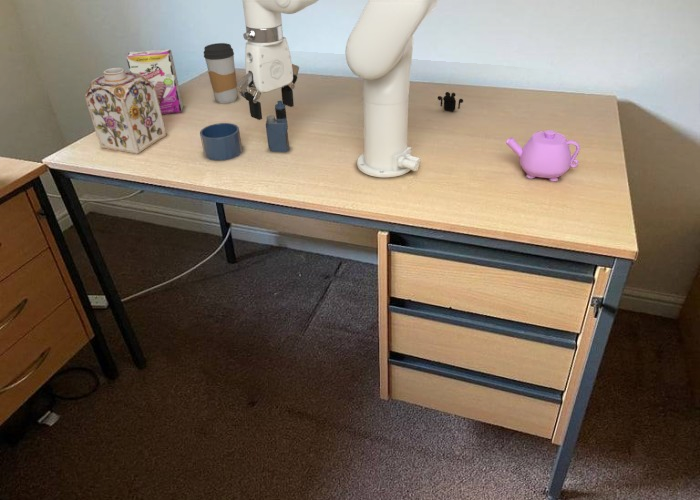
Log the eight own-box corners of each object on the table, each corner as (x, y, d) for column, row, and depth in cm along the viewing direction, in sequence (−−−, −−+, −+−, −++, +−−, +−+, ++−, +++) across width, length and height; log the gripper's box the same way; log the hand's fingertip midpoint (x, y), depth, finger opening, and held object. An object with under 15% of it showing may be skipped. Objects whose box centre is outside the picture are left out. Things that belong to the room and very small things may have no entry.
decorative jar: (99, 148, 133) (75, 75, 123) (131, 130, 142) (111, 60, 132) (138, 155, 130) (117, 80, 119) (168, 135, 138) (151, 64, 128)
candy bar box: (141, 117, 149) (124, 56, 140) (143, 110, 153) (127, 51, 144) (182, 113, 151) (169, 53, 141) (184, 106, 155) (170, 47, 145)
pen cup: (250, 150, 129) (246, 128, 126) (220, 164, 124) (215, 142, 121) (226, 141, 134) (222, 120, 131) (196, 153, 129) (192, 132, 126)
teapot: (575, 188, 109) (585, 145, 104) (499, 179, 113) (505, 137, 108) (575, 165, 117) (584, 124, 112) (504, 157, 121) (510, 118, 116)
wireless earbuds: (462, 111, 144) (464, 92, 141) (460, 114, 142) (461, 96, 140) (437, 107, 147) (438, 89, 144) (434, 111, 145) (435, 92, 142)
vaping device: (288, 152, 127) (283, 103, 120) (267, 151, 128) (260, 102, 121) (291, 148, 129) (286, 99, 122) (270, 147, 130) (264, 98, 123)
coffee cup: (247, 97, 159) (239, 44, 150) (227, 106, 154) (218, 52, 145) (226, 92, 163) (217, 41, 154) (206, 101, 157) (195, 48, 149)
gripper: (244, 46, 106) (254, 127, 116) (306, 28, 117) (311, 104, 127) (220, 39, 110) (232, 119, 120) (282, 22, 121) (288, 97, 131)
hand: (272, 111), depth 124 cm, fingers open, 9 cm apart
